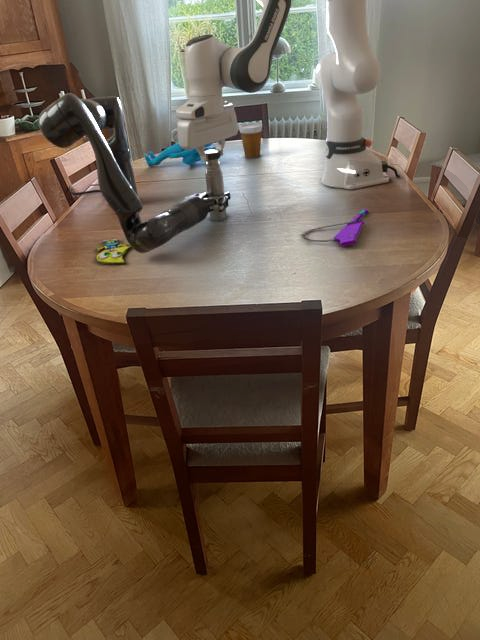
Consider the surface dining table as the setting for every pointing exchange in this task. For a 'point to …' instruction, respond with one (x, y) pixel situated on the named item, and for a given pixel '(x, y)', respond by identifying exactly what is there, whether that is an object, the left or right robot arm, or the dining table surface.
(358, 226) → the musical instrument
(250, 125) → the beer glass
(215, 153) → the cap
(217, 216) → the bottle
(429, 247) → the dining table surface
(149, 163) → the toy
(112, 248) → the toy
